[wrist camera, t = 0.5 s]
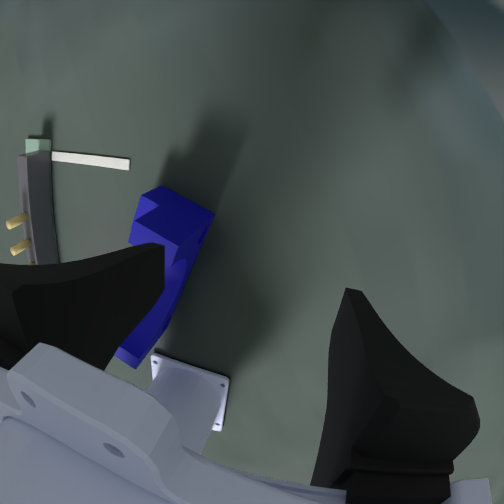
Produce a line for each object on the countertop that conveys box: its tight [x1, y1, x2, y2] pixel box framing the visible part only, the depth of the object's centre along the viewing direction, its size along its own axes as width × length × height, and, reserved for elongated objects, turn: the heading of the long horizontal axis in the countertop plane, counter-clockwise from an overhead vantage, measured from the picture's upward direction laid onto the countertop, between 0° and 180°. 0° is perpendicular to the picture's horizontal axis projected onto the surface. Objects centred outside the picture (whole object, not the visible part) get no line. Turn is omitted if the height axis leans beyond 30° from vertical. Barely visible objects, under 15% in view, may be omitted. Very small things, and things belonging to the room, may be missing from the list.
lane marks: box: [52, 151, 130, 170], centre depth 26 cm, size 16×9×1 cm, turn 172°
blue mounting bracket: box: [114, 186, 215, 369], centre depth 23 cm, size 12×4×6 cm, turn 154°
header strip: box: [6, 139, 59, 265], centre depth 25 cm, size 18×4×5 cm, turn 172°
